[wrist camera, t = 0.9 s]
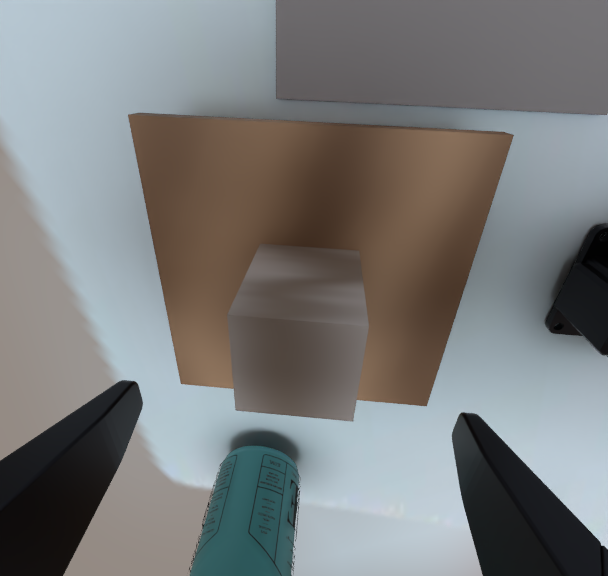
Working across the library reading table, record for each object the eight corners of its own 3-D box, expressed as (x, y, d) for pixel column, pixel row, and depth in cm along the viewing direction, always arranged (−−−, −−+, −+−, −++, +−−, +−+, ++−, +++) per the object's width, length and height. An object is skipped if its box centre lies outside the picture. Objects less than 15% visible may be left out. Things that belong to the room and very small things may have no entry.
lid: (503, 131, 12) (618, 168, 7) (423, 394, 19) (454, 506, 14) (139, 112, 13) (14, 134, 8) (186, 373, 20) (135, 473, 15)
